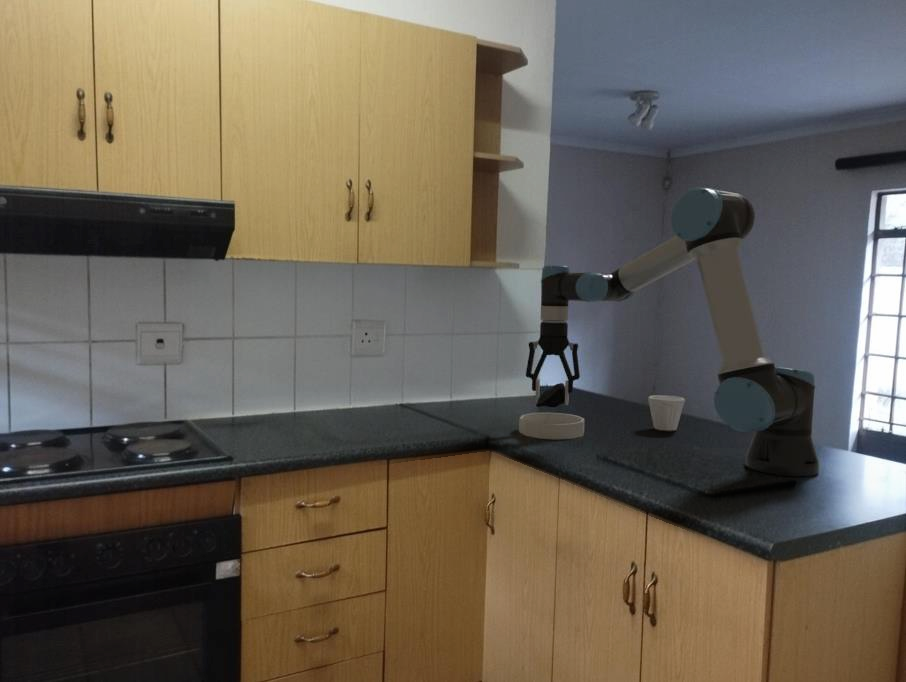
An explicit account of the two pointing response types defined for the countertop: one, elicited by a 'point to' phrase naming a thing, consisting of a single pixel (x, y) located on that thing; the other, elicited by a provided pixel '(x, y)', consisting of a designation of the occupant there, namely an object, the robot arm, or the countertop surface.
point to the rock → (552, 396)
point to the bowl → (551, 425)
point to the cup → (666, 411)
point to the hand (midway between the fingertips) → (551, 403)
